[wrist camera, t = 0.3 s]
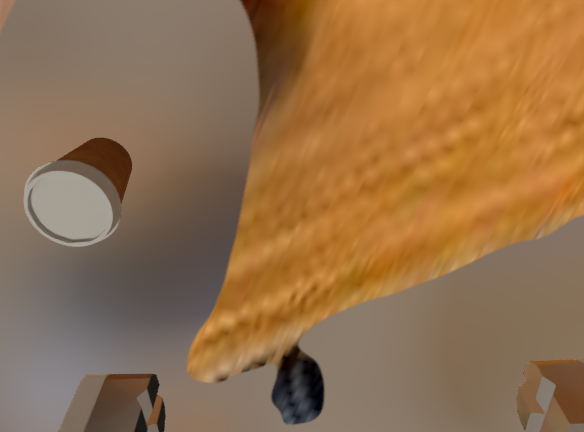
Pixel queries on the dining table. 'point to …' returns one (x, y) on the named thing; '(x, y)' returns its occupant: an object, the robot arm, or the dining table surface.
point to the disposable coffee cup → (79, 193)
